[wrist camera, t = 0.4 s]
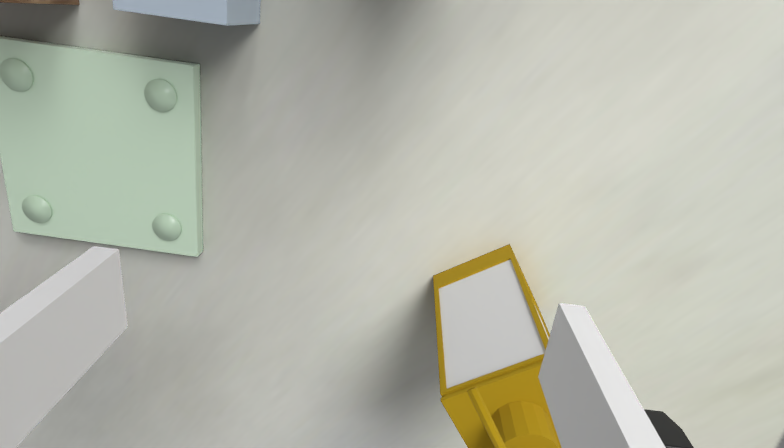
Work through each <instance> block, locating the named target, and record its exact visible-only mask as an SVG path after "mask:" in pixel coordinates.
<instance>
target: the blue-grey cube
mask: <svg viewBox="0 0 784 448" xmlns="http://www.w3.org/2000/svg"><path fill="white" fill-rule="evenodd" d="M113 9H114V10H121V11H128V12H135V13H142V14H149V15H156V16H163V17H170V18H177V19H184V20H191V21H198V22H205V23H212V24H219V25H226V26H229V25H247V24H260V0H113Z"/></svg>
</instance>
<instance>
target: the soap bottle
mask: <svg viewBox="0 0 784 448" xmlns="http://www.w3.org/2000/svg"><path fill="white" fill-rule="evenodd" d="M433 281H434V297H435V314H436V330H437V346H438V362H439V379H440V394H441V396H442V398H441V402H442V404H443V406H444V407H445V409H446V411H447V412H448V414H449V416H450V418H451V419H452V421H453V423H454V424H455V426H456V428H457V430H458V431H459V433H460V435H461V437H462V438H463V440H464V442H465V443H466V445H467V447H468V448H562V447H561V444H560V441H559V438H558V435H557V432H556V429H555V426H554V423H553V420H552V417H551V414H550V411H549V408H548V405H547V402H546V399H545V396H544V393H543V390H542V387H541V384H540V381H539V378H538V376H539V372H540V368H541V365H542V361H543V358H544V354H545V351H546V347H547V344H548V340H549V337H550V334H549V332H548V329H547V327H546V324H545V322H544V320H543V317H542V315H541V312H540V310H539V308H538V306H537V303H536V301H535V299H534V297H533V295H532V292H531V290H530V288H529V286H528V284H527V281H526V279H525V277H524V275H523V273H522V270H521V268H520V266H519V264H518V262H517V259H516V257H515V255H514V253H513V251H512V248H511V246H510V244H509V245H506V246H504V247H502V248H499V249H497V250H494V251H492V252H490V253H487V254H485V255H482V256H480V257H478V258H475V259H473V260H470V261H468V262H465V263H463V264H461V265H458V266H456V267H453V268H451V269H449V270H446V271H444V272H441V273H439V274H437V275H434V276H433Z"/></svg>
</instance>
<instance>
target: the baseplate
mask: <svg viewBox="0 0 784 448" xmlns="http://www.w3.org/2000/svg"><path fill="white" fill-rule="evenodd" d="M0 157H1V163H2V169H3V174H4V180H5V186H6V191H7V197H8V203H9V208H10V214H11V220H12V225H13V231H14V232H22V233H29V234H36V235H43V236H50V237H58V238H65V239H72V240H79V241H86V242H94V243H101V244H108V245H115V246H122V247H130V248H137V249H144V250H151V251H158V252H166V253H173V254H180V255H187V256H195V257H198V256H199V255H200V254H201V253H202V252H203V218H202V158H201V98H200V64H194V63H187V62H180V61H173V60H166V59H159V58H152V57H145V56H138V55H131V54H124V53H117V52H109V51H102V50H95V49H88V48H81V47H74V46H67V45H60V44H53V43H46V42H39V41H32V40H25V39H18V38H11V37H4V36H0Z"/></svg>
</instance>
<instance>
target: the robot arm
mask: <svg viewBox="0 0 784 448" xmlns="http://www.w3.org/2000/svg"><path fill="white" fill-rule="evenodd" d="M127 327H128V323H127V315H126V306H125V297H124V288H123V279H122V270H121V261H120V252H119V249H114V248H105V247H97V246H93V247H91V248H90V249H89V250H87V251H86V252H85V253H83V254H82V255H80V256H79V257H78V258H76V259H75V260H73V261H72V262H71V263H69V264H68V265H66V266H65V267H64V268H62V269H61V270H59V271H58V272H57V273H55V274H54V275H52V276H51V277H50V278H48V279H47V280H46V281H44V282H43V283H41V284H40V285H39V286H37V287H36V288H34V289H33V290H32V291H30V292H29V293H27V294H26V295H25V296H23V297H22V298H20V299H19V300H18V301H16V302H15V303H13V304H12V305H11V306H9V307H8V308H7V309H5V310H4V311H2V312H1V313H0V448H16V447H17V446H18V445H19V444H20V443H21V442H22V441H23V440H24V439H25V438H26V437H27V435H28V434H29V433H30V432H31V431H32V430H33V429H34V428H35V427H36V426H37V425H38V424H39V422H40V421H41V420H42V419H43V418H44V417H45V416H46V415H47V414H48V413H49V412H50V411H51V410H52V408H53V407H54V406H55V405H56V404H57V403H58V402H59V401H60V400H61V399H62V398H63V397H64V395H65V394H66V393H67V392H68V391H69V390H70V389H71V388H72V387H73V386H74V385H75V384H76V382H77V381H78V380H79V379H80V378H81V377H82V376H83V375H84V374H85V373H86V372H87V371H88V369H89V368H90V367H91V366H92V365H93V364H94V363H95V362H96V361H97V360H98V359H99V358H100V356H101V355H102V354H103V353H104V352H105V351H106V350H107V349H108V348H109V347H110V346H111V345H112V343H113V342H114V341H115V340H116V339H117V338H118V337H119V336H120V335H121V334H122V333H123V332H124V331H125V329H126V328H127ZM538 378H539V381H540V384H541V387H542V390H543V393H544V396H545V399H546V402H547V405H548V408H549V411H550V414H551V417H552V420H553V423H554V426H555V429H556V432H557V435H558V438H559V441H560V444H561V447H562V448H693V446H692V444H691V443H690V441H689V440H688V438H687V437H686V435H685V433H684V432H683V430H682V429H681V428H680V427H679V426H678V425H677V424H676V423H675V422H673V421H672V420H671V419H670V418H669V417H668V416H667V415H666V414H665V413H664V412H661V411H653V410H644V409H643V407H642V405H641V404H640V402H639V400H638V398H637V397H636V395H635V393H634V391H633V390H632V388H631V386H630V384H629V383H628V381H627V379H626V377H625V376H624V374H623V372H622V370H621V369H620V367H619V365H618V363H617V362H616V360H615V358H614V356H613V355H612V353H611V351H610V349H609V348H608V346H607V344H606V342H605V341H604V339H603V337H602V335H601V334H600V332H599V330H598V328H597V327H596V325H595V323H594V321H593V320H592V318H591V316H590V314H589V313H588V311H587V309H586V307H585V306H581V305H573V304H565V303H559V305H558V308H557V312H556V315H555V319H554V323H553V326H552V330H551V333H550V337H549V340H548V344H547V347H546V351H545V354H544V358H543V361H542V365H541V368H540V372H539V376H538Z"/></svg>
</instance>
